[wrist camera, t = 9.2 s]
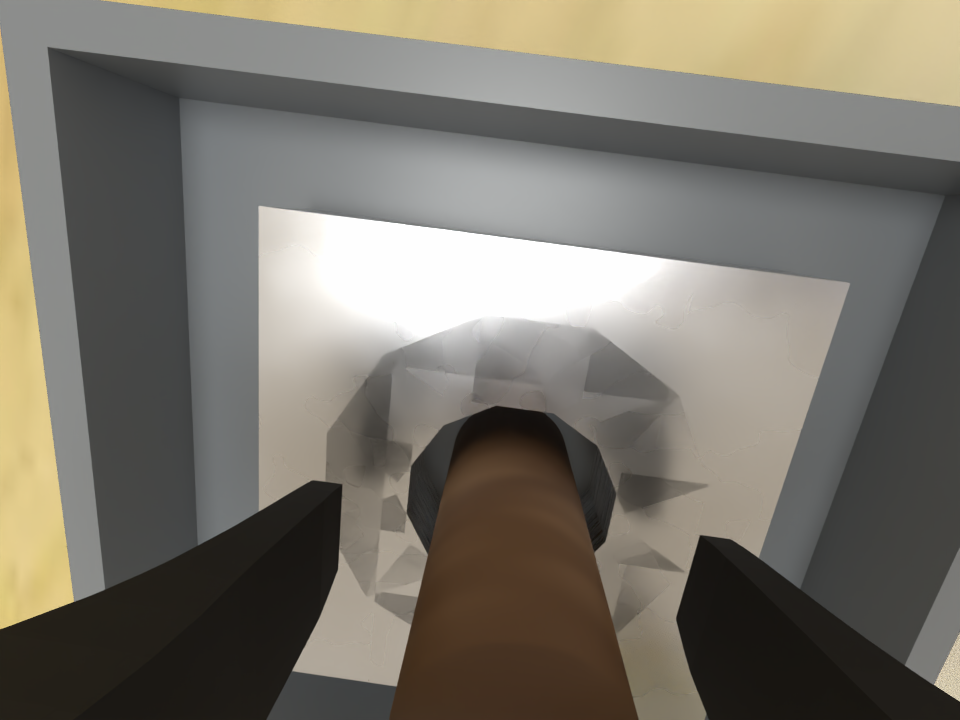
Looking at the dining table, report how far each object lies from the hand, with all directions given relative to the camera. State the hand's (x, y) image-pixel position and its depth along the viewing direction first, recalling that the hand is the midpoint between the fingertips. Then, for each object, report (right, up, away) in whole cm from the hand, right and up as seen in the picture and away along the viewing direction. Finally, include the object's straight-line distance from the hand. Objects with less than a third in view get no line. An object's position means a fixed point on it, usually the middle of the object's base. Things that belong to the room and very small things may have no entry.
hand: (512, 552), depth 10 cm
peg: (0, +1, +4) cm, 4 cm away
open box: (0, +1, +5) cm, 5 cm away
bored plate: (0, +1, +5) cm, 5 cm away
